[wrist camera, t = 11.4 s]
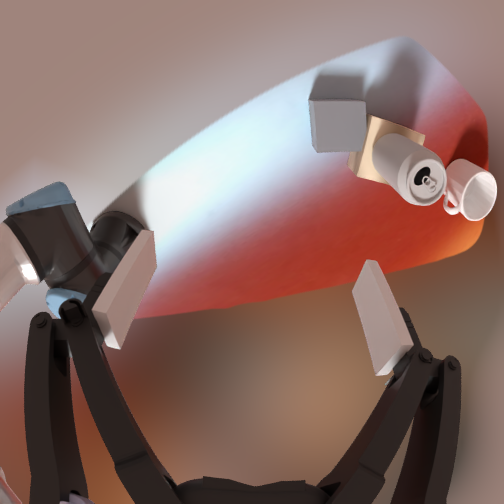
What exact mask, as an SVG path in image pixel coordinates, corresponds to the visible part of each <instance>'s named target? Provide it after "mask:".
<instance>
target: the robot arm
mask: <svg viewBox="0 0 504 504" xmlns="http://www.w3.org/2000/svg"><path fill="white" fill-rule="evenodd" d="M6 215H7V216H8V218H7V219H5V220H4V221H3V222H2V223H1V224H0V312H1V310H2V309H3V308H4V307H5V306H6V305H7V304H8V302H9V301H10V300H11V299H12V298H13V297H14V296H15V295H16V294H17V293H18V291H20V289H21V288H22V287H23V286H24V285H25V284H34V285H38V284H39V283H40V282H41V281H42V280H43V279H44V280H45V282H46V284H47V285H48V287H49V288H50V290H48V291H47V295H46V302H47V305H48V307H49V309H50V310H51V311H52V312H53V314H55V316H57V317H58V318H59V319H52V317H51V316H50V314H49V313H47V312H40V313H38V314H36V315H35V316H34V317H33V318H32V320H31V323H30V329H29V336H28V344H27V354H26V366H25V384H24V385H25V386H24V413H25V431H26V442H27V451H28V458H29V465H30V471H31V476H32V477H31V487H30V502H29V504H95V503H93V502H92V501H91V500H89V499H88V490H87V483H86V479H85V474H84V470H83V466H82V462H81V457H80V453H79V447H78V442H77V435H76V429H75V422H74V414H73V405H72V394H71V380H70V357H72V358H73V361H74V365H75V368H76V371H77V375H78V378H79V381H80V384H81V387H82V389H83V393H84V395H85V398H86V401H87V403H88V406H89V409H90V411H91V414H92V416H93V419H94V421H95V423H96V426H97V428H98V430H99V432H100V434H101V437H102V438H103V441H104V443H105V445H106V447H107V449H108V451H109V453H110V455H111V457H112V459H113V461H114V464H115V470H116V473H117V474H118V477H119V478H120V480H121V482H122V483H123V485H124V487H125V488H126V490H127V491H128V493H129V495H130V496H131V498H132V499H133V501H134V502H135V504H371V503H372V502H373V500H374V499H375V498H376V496H377V495H378V493H379V492H380V490H381V489H382V487H383V485H384V483H385V478H384V474H385V472H386V470H387V468H388V467H389V465H390V463H391V462H392V460H393V458H394V456H395V454H396V452H397V451H398V449H399V447H400V445H401V443H402V441H403V439H404V437H405V435H406V433H407V431H408V428H409V426H410V424H411V422H412V419H413V417H414V420H413V425H412V430H411V435H410V439H409V443H408V448H407V452H406V456H405V459H404V463H403V466H402V470H401V473H400V476H399V479H398V482H397V485H396V488H395V491H394V494H393V497H392V500H391V503H390V504H446V498H447V494H448V490H449V486H450V482H451V477H452V472H453V468H454V462H455V456H456V449H457V442H458V434H459V423H460V409H461V366H460V363H459V361H458V360H457V359H456V358H455V357H454V356H450V355H449V356H447V357H446V358H445V359H444V360H439V359H436V358H433V355H432V354H431V352H430V351H429V350H428V349H425V348H422V346H421V343H420V341H419V338H418V336H417V333H416V331H415V328H414V326H413V324H412V323H411V319H410V317H409V314H408V313H407V312H406V311H405V310H404V308H399V307H398V305H397V303H396V301H395V298H394V296H393V294H392V292H391V290H390V287H389V285H388V283H387V281H386V279H385V277H384V275H383V273H382V271H381V269H380V267H379V265H378V263H377V261H374V260H366V262H365V264H364V266H363V269H362V271H361V273H360V275H359V277H358V280H357V282H356V284H355V286H354V288H353V290H352V294H353V297H354V299H355V303H356V306H357V309H358V312H359V316H360V319H361V323H362V326H363V329H364V333H365V336H366V340H367V344H368V347H369V351H370V354H371V359H372V362H373V366H374V371H375V374H376V375H387V374H388V373H389V372H390V371H391V370H392V369H393V371H394V375H393V376H392V377H391V378H390V379H389V380H388V381H387V382H386V383H385V385H387V384H388V385H387V387H386V389H385V391H384V392H383V394H382V396H381V398H380V400H379V402H378V403H377V405H376V407H375V408H374V410H373V412H372V413H371V415H370V417H369V418H368V420H367V422H366V423H365V425H364V426H363V428H362V430H361V431H360V433H359V434H358V436H357V437H356V439H355V440H354V441H353V443H352V444H351V446H350V447H349V449H348V450H347V451H346V453H345V454H344V456H343V457H342V458H341V460H340V461H339V462H338V464H337V465H336V466H335V468H334V469H333V470H332V471H331V472H330V473H329V474H328V475H327V476H326V477H324V478H323V479H322V480H321V481H320V482H319V483H318V485H317V486H313V485H310V484H306V483H305V480H301V481H280V482H276V483H272V484H267V485H262V486H257V487H256V486H255V487H254V486H250V485H247V484H243V483H240V482H236V481H233V480H230V479H222V478H213V477H205V476H203V478H202V479H194V480H190V481H186V482H184V483H181V484H179V485H178V486H177V484H176V483H175V482H174V480H173V479H172V478H171V476H170V475H169V473H168V472H167V470H166V469H165V468H164V466H163V465H162V464H161V463H160V461H159V460H158V458H157V456H156V455H155V453H154V452H153V450H152V449H151V447H150V445H149V444H148V442H147V440H146V438H145V437H144V435H143V433H142V432H141V430H140V428H139V426H138V424H137V423H136V421H135V419H134V417H133V415H132V414H131V411H130V409H129V407H128V405H127V403H126V401H125V399H124V397H123V395H122V393H121V391H120V389H119V386H118V385H117V382H116V380H115V377H114V375H113V373H112V370H111V368H110V366H109V363H108V361H107V358H106V356H105V353H104V351H103V348H102V343H103V341H104V340H105V342H106V344H107V346H109V347H112V348H116V349H121V347H122V344H123V341H124V339H125V337H126V334H127V332H128V330H129V327H130V325H131V322H132V320H133V318H134V316H135V313H136V311H137V309H138V306H139V304H140V302H141V300H142V298H143V295H144V293H145V291H146V289H147V287H148V285H149V282H150V280H151V278H152V276H153V274H154V272H155V270H156V268H157V264H156V254H155V242H154V231H149V230H145V229H144V227H143V226H142V225H141V224H140V223H139V222H138V221H137V220H136V219H134V218H133V217H131V216H129V215H127V214H125V213H122V212H115V211H114V212H107V213H105V214H103V215H101V216H100V217H99V218H98V219H97V220H96V221H95V223H94V224H93V226H92V227H91V230H90V233H89V231H88V229H87V227H86V225H85V223H84V221H83V219H82V217H81V215H80V212H79V210H78V208H77V206H76V201H75V200H73V198H72V196H71V194H70V191H69V190H68V187H67V186H66V185H65V184H64V183H63V182H55V183H52V184H50V185H48V186H46V187H44V188H41V189H39V190H37V191H36V192H34V193H31V194H29V195H27V196H25V197H24V198H22V199H20V200H18V201H16V202H15V203H13V204H11V205H9V206H8V207H7V208H6ZM0 504H23V503H22V502H21V501H20V500H19V498H18V497H17V496H16V495H15V493H14V492H13V491H12V490H11V489H10V487H9V486H8V484H7V483H6V479H5V475H4V472H3V471H2V469H1V467H0Z"/></svg>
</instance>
